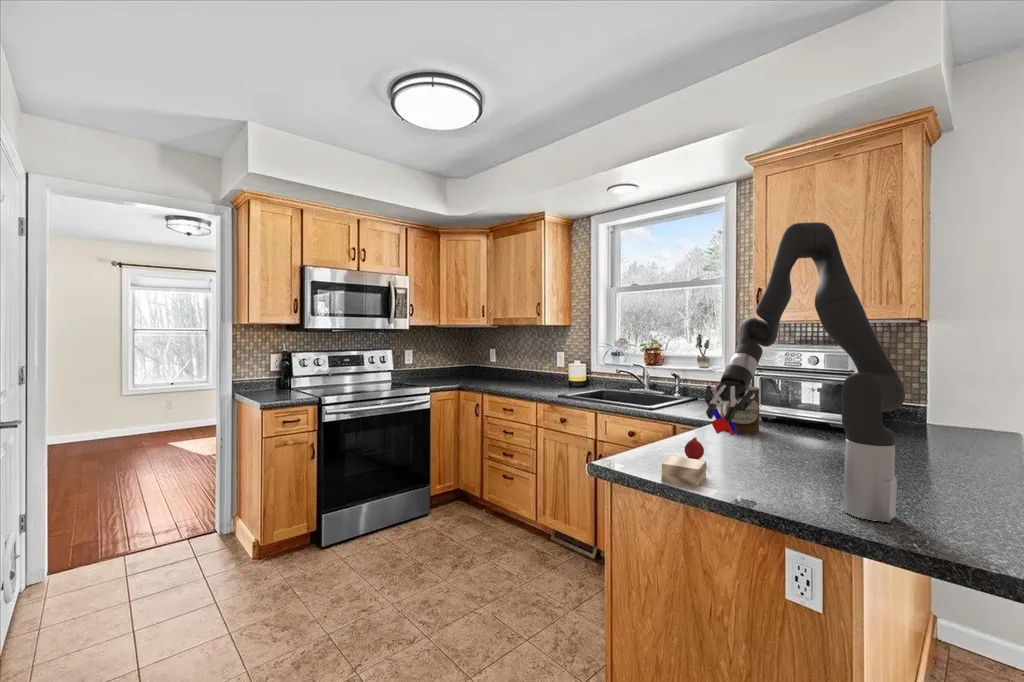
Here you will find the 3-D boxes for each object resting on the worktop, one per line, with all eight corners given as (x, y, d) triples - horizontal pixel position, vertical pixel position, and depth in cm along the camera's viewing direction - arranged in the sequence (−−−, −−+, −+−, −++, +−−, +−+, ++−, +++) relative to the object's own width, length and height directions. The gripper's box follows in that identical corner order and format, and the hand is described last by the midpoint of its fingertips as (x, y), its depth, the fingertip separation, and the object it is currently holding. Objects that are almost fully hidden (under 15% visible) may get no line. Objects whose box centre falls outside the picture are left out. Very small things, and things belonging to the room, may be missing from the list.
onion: (691, 465, 153) (692, 439, 153) (680, 460, 159) (681, 435, 159) (707, 463, 155) (707, 438, 155) (696, 458, 160) (696, 434, 160)
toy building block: (723, 437, 138) (710, 410, 140) (737, 432, 135) (723, 405, 137) (719, 439, 135) (706, 412, 137) (734, 434, 132) (720, 407, 134)
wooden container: (722, 432, 200) (723, 379, 199) (718, 425, 214) (719, 375, 213) (762, 435, 195) (763, 380, 195) (755, 427, 209) (756, 376, 209)
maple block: (705, 477, 141) (706, 460, 141) (698, 487, 133) (698, 469, 133) (670, 472, 147) (671, 455, 147) (661, 481, 138) (661, 463, 138)
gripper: (711, 362, 146) (689, 406, 139) (760, 365, 135) (739, 414, 128) (720, 378, 149) (698, 422, 142) (768, 383, 138) (748, 431, 131)
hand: (717, 418), depth 135 cm, fingers closed on toy building block, 4 cm apart
